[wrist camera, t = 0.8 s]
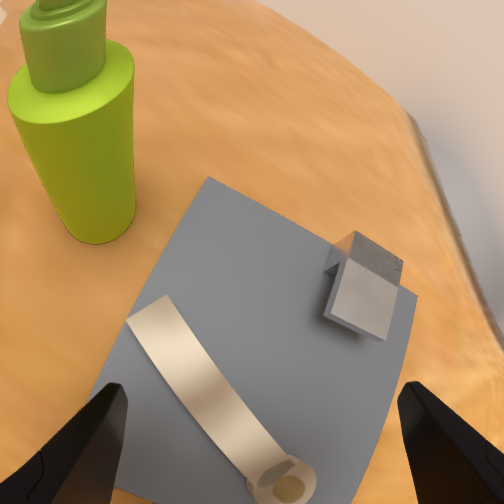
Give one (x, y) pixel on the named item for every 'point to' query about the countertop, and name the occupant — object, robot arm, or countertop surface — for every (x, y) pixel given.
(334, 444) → the board
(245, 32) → the countertop surface
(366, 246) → the block
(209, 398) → the link
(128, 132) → the soap dispenser
